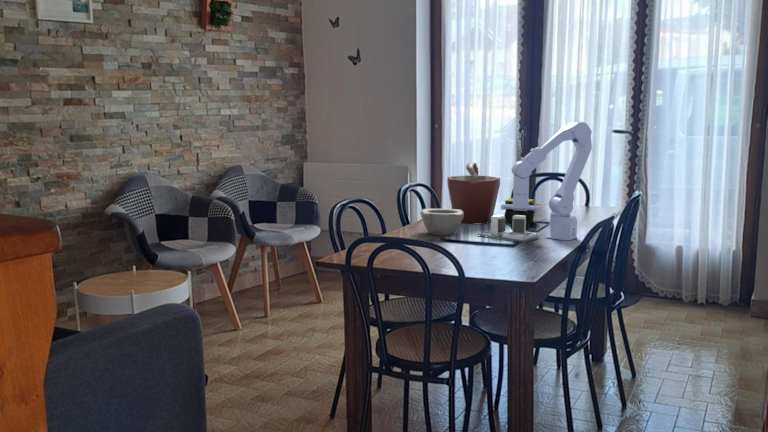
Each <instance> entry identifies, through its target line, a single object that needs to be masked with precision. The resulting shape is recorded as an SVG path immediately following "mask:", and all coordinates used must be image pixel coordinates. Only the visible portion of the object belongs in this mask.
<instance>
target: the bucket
mask: <svg viewBox="0 0 768 432" xmlns="http://www.w3.org/2000/svg"><path fill="white" fill-rule="evenodd" d="M465 169H466V171H467V172H468V173H469V174H463V175H450V176H447V177H446V178H447V183H446V185H447V190H448V195H449V200H450V201H449V202H450V209H460V210H462V211H463V212H464V218H463V220H462V221H461V223H460V224H465V225H466V224H467V225H475V224H474V223H483V224H488V223H490V222H491V216H494V213H495V208H496V204H497V199H498V197H499V196H498V195H499V192H500V186H501V178H500V177H496V176H490V175H479V167H478V165H477V163H476V162H468V163H467V164H466V167H465ZM489 221H490V222H489ZM487 222H488V223H487Z"/></svg>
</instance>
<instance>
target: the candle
mask: <svg viewBox="0 0 768 432" xmlns="http://www.w3.org/2000/svg"><path fill="white" fill-rule="evenodd" d="M504 204H513V197H511V198H509V199H506V200H505V199H504ZM528 205H533V206H535V198H534V199H532V198H529V201H528ZM515 209H517V208H515ZM504 211H505V212H504V215H505V218H506V223H508V224H507V225H510V222H509V219H508V216H507V214H506V210H504ZM526 212H527V211H519V210H515V215H524V216H526ZM534 217H535V214H534V215H533V217H532V219H531V222H530V224H532V223H534Z"/></svg>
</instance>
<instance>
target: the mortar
mask: <svg viewBox="0 0 768 432" xmlns="http://www.w3.org/2000/svg"><path fill="white" fill-rule="evenodd" d="M420 215H421V220H422V222H423V224H424V227H425V228H426V230H427V232H428V233H429V234H431V235H434V236H450V235H453V234H454V233H455V232H456V231H457V230H458V228H459V226H460V225H461V224H462V223H461V221H462V220H463V218H464V212H463V211H462V210H460V209H452V208H423V209H422V210H420Z"/></svg>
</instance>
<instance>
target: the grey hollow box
mask: <svg viewBox="0 0 768 432" xmlns="http://www.w3.org/2000/svg"><path fill="white" fill-rule="evenodd" d="M506 230H507V229H506V218H505V214H495V215H494V214H493V216H491V221H490V230H487V231H484V232H481V233H478V234H477V236H478V235H480V236H487V237H494V238H500V239H499V240H501V239H507V240H506V241H509V240H513V241H512V242H516V241H518V243H528V242H530V241H534V240H537V239H539V235H538V232H532V231H527V235H513V234H512V230H511V231H506ZM480 236H479V237H480ZM487 237H486V238H487ZM494 238H493V239H494Z"/></svg>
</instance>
